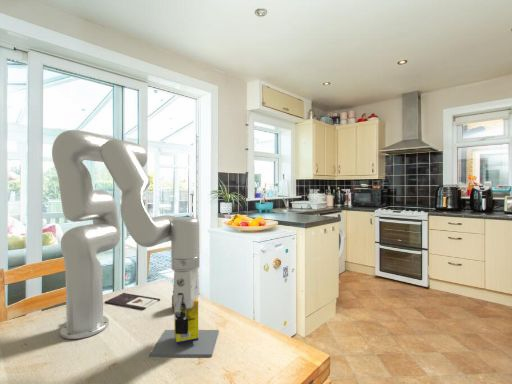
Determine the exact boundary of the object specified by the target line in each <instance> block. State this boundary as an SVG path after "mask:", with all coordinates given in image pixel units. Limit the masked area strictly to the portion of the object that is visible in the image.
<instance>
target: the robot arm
mask: <svg viewBox="0 0 512 384" xmlns="http://www.w3.org/2000/svg"><path fill="white" fill-rule="evenodd" d="M51 158H52V162H53V165H54V168H55V170H56V174H57V180H58V186H59V187H58V188H59V192H60V193H59V194H60V195H59V196H60V202H61V208H62V212H63V217H65V218H66V220H67V221H70V222H85V221H86V222H87V221H92V223H91V224H85V225H79V226H75V227H72V228H70V229H69V230H67V231H66V232H64V234H63V235H62V237H61V238H60V249H61V253H62V257H63V262H64V269H65V270H64V271H65V272H64V273H65V274H64V275H65V302H66V304H65V307H66V310H65V311H66V313H65V314H66V316H65V317H66V324H64V325H63V326H62V327H61V329H60V331H59V332H60V333H59V334H60V336H61V337H62V338H63V339H67V340H77V339H78V340H79V339H85V338H88V337H91V336H94V335H97V334H99V333H101V332H102V331H104V330H105V329H106V328H107V327H108V325H109V322H110V320H109V318H108V317H107V316H105V315H104V304H103V303H104V299H103V298H104V295H103V291H104V290H103V268H102V265H101V262H100V260H99V259H98V258H97V254H101V253H103V252H107V251H111V250H113V249H114V248H116V247H117V245H118V244H119V242H120V238H121V230H120V223H119V222H120V221H119V214H118V207H117V202H116V199H115V198H114V196H113V195H112V194H111V193H110V192H108V191H106V190H102V189H94V186H93V180H92V179H93V178H92V175H91V173H90V171H89V169H88V167H86V165H85V164H84V162H83V161H88V162H89V161H91V162H100V163H104V165H105V167H106V169H107V171H108V173H109V174H110V176H111V178H112V179H113V181H114V182H115V184H116V187H117V188H118V191H119V192H120V194H121V197H120V203H119V206H120V216H121V219H122V223H123V225H124V226H125V228H126V230H127V232H128V234H129V235H130V237H131V238H132V239H133V240H134V242H135V243H136V244H138V246H140V247H143V248H152V247H156V246H158V245H161V244H163V243H167V242H171V243H170V245H171V247H170V250H171V252H170V253H171V254H170V255H171V256H170V257H171V258H170V259H171V267H170V268H171V270H172V271H173V272H174V274H173V278H174V279H173V286H174V287H173V290H172V295H173V304H174V307H175V327H174V329H175V333H176V334H187V333H188V318H187V311H188V308H190V309H191V308H192V307H193V306H194V301H195V300H196V298H197V299H198V298H199V295H200V287H199V285H200V282H199V270H198V269H200V222H199V220H198V218H197V217H192V216H181V217H178V216H174V215H166V214H165V215H159V216H153V217H151V216H150V214H149V212H148V211H147V209H146V208H145V204H144V202H143V193H144V192H145V191H146V190H148V188H149V186H150V185H151V179H150V177H149V176H148V175H147V173H146V171H145V170H144V167H145V166H146V164H147V161H148V154H147V151H146V149H145V148H144V147H143V146H142V145H140V144H138V143H136V142H132V141H128V140H123V139H118V138H114V137H112V136H111V137H110V136H107V135H102V134H98V133H93V132H90V131H84V130H78V129H73V130H72V129H71V130H65V131H63V132H61V133H60V134H58V135H57V137H56V138H55V140H54V141H53V144H52V148H51ZM182 304H185V305H186V306H182ZM181 309H185V311H184V313H183V312H181V311H182V310H181Z"/></svg>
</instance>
